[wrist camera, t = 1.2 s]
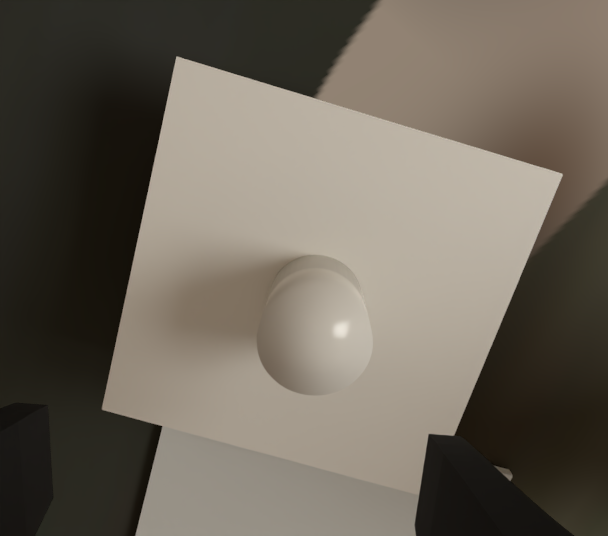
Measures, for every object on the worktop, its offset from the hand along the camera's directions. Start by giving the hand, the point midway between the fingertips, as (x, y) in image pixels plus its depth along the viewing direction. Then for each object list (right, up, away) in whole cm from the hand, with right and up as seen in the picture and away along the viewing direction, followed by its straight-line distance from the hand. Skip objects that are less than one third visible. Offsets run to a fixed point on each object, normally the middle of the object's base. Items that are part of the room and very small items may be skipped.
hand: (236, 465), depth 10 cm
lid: (+2, +3, +7) cm, 8 cm away
